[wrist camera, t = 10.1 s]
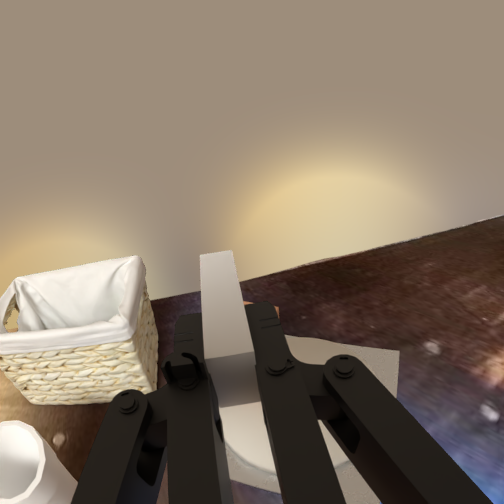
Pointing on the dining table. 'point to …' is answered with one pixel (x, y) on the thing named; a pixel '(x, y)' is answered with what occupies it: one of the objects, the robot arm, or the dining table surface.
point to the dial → (251, 415)
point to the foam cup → (31, 468)
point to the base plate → (352, 484)
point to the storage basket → (80, 333)
